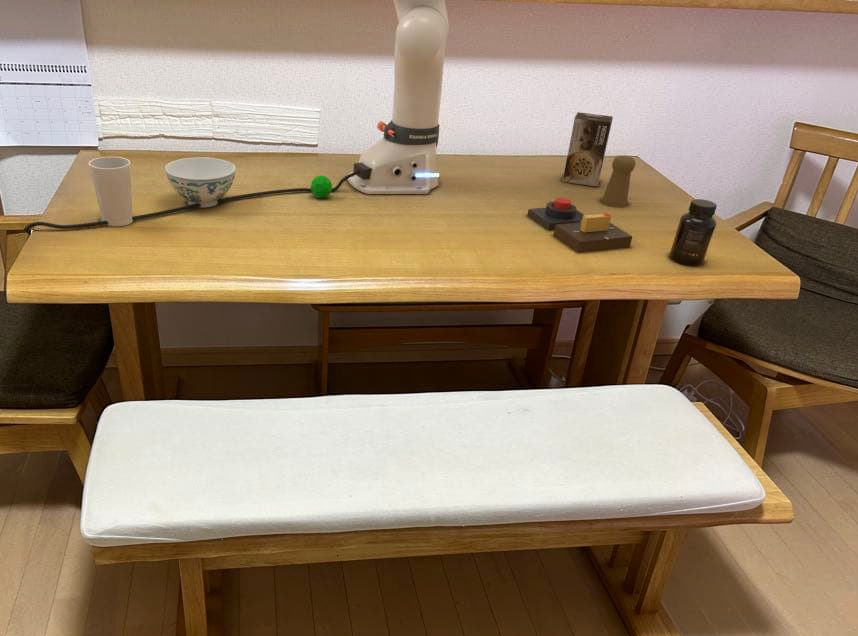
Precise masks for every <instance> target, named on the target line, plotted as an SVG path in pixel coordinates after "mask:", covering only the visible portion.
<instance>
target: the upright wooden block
mask: <svg viewBox="0 0 858 636" xmlns="http://www.w3.org/2000/svg"><path fill="white" fill-rule="evenodd" d="M611 220H612V215H611V214H610V213H608V212H602V213H595V214H584V215H583V218H582V223H581V227H580V230H581V231H582V232H584V233H586V232H596V231H606V230H608V227H609V223H611Z"/></svg>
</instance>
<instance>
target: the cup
mask: <svg viewBox="0 0 858 636" xmlns="http://www.w3.org/2000/svg"><path fill="white" fill-rule="evenodd" d="M131 164H132V163H131V161H130V160H129V159H128V158H125V157H121V156H101V157H96V158H93V159H90V160H89V161H88V168H89V171H90V176H91V179H92V182H93V187H94V191H95V195H96V199H97V205H98V208H99V212H100V213H99V214H100V221H107V222H108V224H106V225H105V226H110V227H122V226H123V227H124V226H127V225H130V224H132V223H133V222H134V220H132V217H133V216H134V214H133V195H132V172H131V171H132V167H131V166H132V165H131ZM122 219H123V220H122Z"/></svg>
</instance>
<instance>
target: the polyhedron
mask: <svg viewBox="0 0 858 636" xmlns="http://www.w3.org/2000/svg"><path fill="white" fill-rule="evenodd" d="M310 188H311V191H312V192H311V194H313V196H315V197H317V198H319V199H326V198H327V197H329V196H330V195H331V193H332V192H331V190H332V188H333V183H332V181H331V179H330V178H328V177H327V176H325V175H316V176H315V177H314V178H313V179H312V180H311V184H310Z"/></svg>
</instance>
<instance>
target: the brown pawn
mask: <svg viewBox="0 0 858 636" xmlns="http://www.w3.org/2000/svg"><path fill="white" fill-rule="evenodd" d="M635 167H636V160H635V158H633V157H631V156H628V155H617V156H615V157H614V158H613V160H612V165H611V168H612V173H611V175H610V178H609V180H608V182H607V184H606V188H605V191H604V193H603V196H602V199H601V202H602V203H603V204H605V205H607V206H611V207H617V208H623V207H626V206H627V205H628V200H629V199H628V198H629V191H630V184H631V183H630V182H631V175H632V172H633V171H634V170H635Z"/></svg>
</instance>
